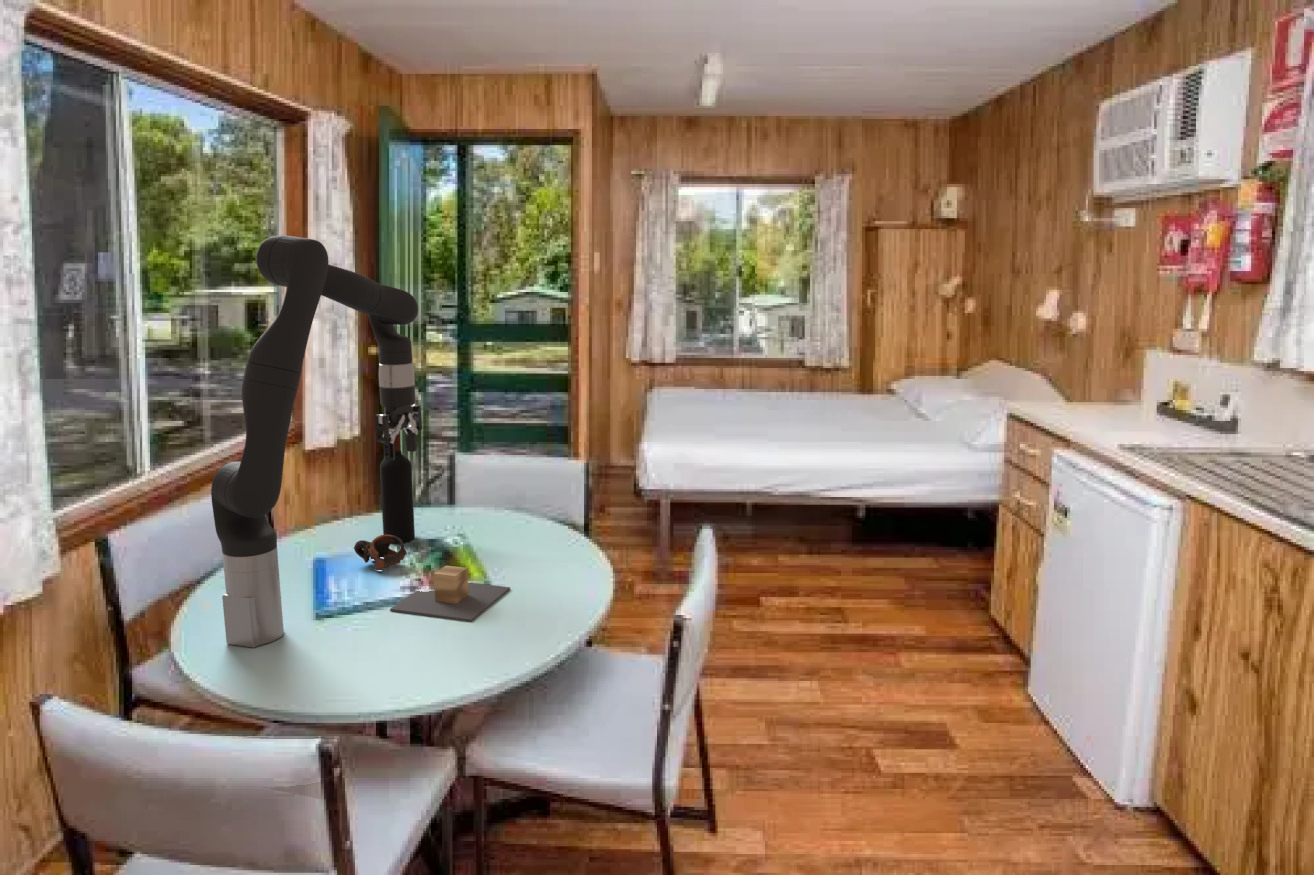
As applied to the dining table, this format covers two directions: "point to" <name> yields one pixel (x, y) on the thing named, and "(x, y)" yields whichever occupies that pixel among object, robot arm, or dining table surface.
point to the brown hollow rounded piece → (381, 551)
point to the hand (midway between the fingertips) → (401, 455)
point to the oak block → (451, 584)
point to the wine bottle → (397, 495)
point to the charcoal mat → (464, 610)
